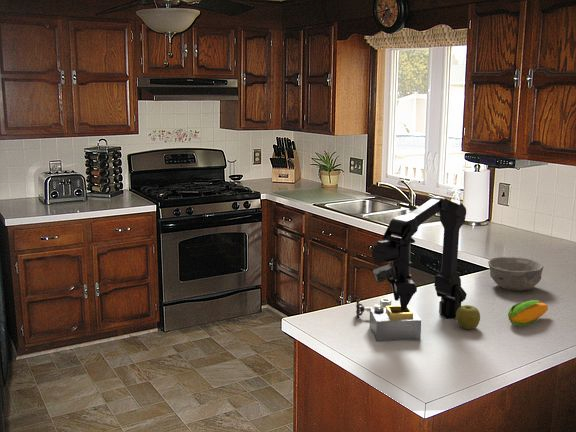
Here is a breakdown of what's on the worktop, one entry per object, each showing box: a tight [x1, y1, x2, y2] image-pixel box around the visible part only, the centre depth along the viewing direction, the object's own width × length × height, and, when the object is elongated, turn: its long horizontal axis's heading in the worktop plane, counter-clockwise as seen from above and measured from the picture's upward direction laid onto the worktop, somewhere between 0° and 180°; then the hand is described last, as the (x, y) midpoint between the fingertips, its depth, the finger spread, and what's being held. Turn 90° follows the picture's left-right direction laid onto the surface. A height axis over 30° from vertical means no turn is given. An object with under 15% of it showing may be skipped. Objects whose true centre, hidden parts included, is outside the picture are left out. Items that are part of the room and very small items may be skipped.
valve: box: [355, 298, 392, 319], centre depth 215 cm, size 7×7×12 cm
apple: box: [455, 304, 481, 330], centre depth 205 cm, size 8×8×7 cm
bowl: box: [487, 256, 544, 292], centre depth 245 cm, size 21×21×10 cm
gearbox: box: [369, 304, 422, 342], centre depth 201 cm, size 14×12×8 cm
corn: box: [507, 299, 549, 327], centre depth 210 cm, size 7×8×20 cm
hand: (399, 305), depth 200 cm, fingers open, 9 cm apart
